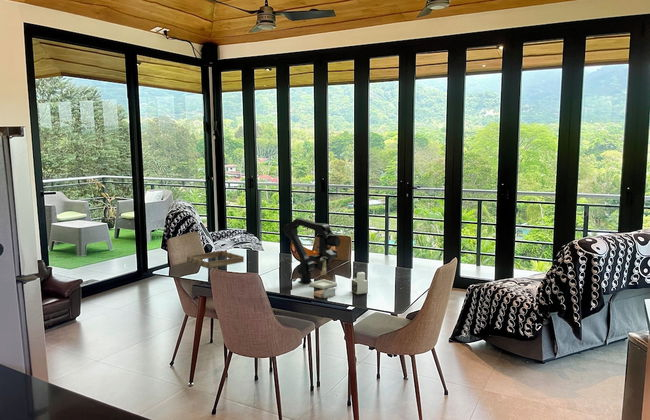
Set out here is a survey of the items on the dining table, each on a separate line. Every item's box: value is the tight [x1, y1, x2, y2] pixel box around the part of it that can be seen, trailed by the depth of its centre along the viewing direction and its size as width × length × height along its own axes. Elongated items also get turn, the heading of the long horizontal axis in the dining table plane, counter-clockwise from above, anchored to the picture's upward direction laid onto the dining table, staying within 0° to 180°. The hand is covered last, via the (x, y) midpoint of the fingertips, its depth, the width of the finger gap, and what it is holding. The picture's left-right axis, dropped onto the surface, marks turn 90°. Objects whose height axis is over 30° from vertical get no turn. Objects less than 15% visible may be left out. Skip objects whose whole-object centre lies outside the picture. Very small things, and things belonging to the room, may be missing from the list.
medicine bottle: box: [351, 270, 369, 295], centre depth 287 cm, size 7×7×12 cm
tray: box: [309, 278, 338, 290], centre depth 301 cm, size 12×12×2 cm
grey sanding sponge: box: [322, 287, 336, 299], centre depth 279 cm, size 2×8×4 cm, turn 134°
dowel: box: [320, 258, 327, 276], centre depth 300 cm, size 3×3×9 cm
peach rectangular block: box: [313, 289, 324, 298], centre depth 282 cm, size 6×7×2 cm
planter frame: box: [186, 250, 245, 269], centre depth 364 cm, size 29×29×4 cm
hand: (323, 270), depth 300 cm, fingers closed on dowel, 3 cm apart
